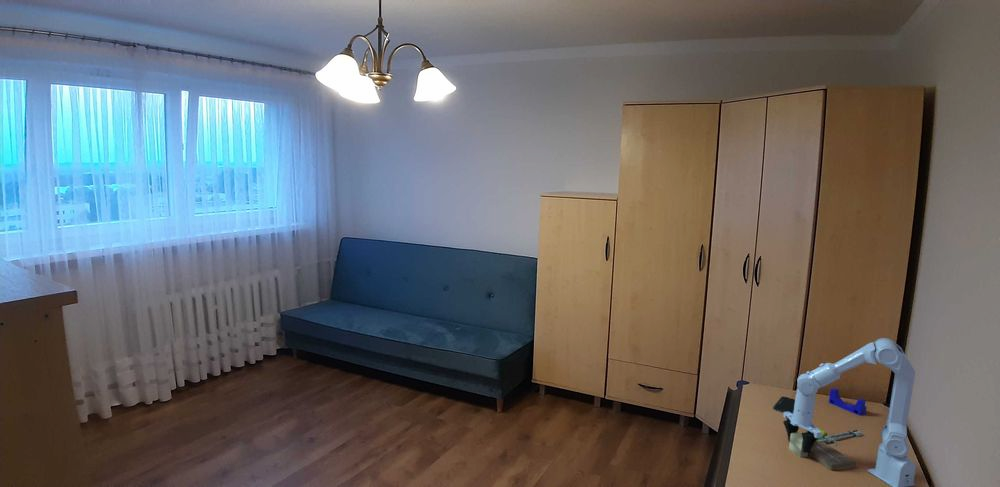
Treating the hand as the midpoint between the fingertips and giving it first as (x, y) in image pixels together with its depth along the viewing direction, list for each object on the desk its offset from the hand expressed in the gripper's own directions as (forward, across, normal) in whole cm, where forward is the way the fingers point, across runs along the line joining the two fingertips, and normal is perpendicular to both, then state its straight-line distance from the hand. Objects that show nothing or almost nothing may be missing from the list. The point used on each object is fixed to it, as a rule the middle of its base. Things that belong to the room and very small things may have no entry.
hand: (798, 446), depth 179 cm
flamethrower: (+3, -7, +19) cm, 20 cm away
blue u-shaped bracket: (+2, -25, +47) cm, 53 cm away
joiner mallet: (+2, 0, +3) cm, 4 cm away
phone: (+3, -30, +23) cm, 38 cm away
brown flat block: (+2, +4, +7) cm, 9 cm away
